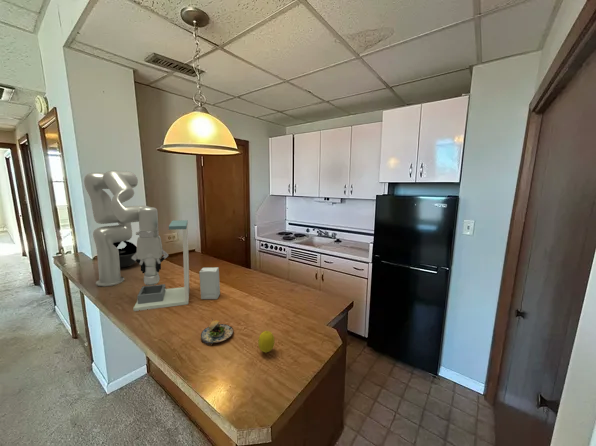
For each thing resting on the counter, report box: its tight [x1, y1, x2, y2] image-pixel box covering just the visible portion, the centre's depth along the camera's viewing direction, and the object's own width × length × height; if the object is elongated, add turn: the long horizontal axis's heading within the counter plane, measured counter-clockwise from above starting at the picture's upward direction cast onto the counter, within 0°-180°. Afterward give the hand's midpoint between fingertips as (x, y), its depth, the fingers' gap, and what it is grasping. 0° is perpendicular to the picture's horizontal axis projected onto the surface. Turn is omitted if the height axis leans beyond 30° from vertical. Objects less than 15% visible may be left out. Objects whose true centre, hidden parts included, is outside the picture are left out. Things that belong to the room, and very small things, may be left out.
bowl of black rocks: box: [113, 240, 137, 268], centre depth 163 cm, size 20×20×19 cm
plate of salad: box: [200, 318, 234, 347], centre depth 94 cm, size 12×12×8 cm
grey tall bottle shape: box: [143, 253, 160, 286], centre depth 117 cm, size 6×7×20 cm
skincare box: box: [198, 267, 221, 300], centre depth 125 cm, size 8×6×15 cm
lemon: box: [257, 330, 275, 354], centre depth 85 cm, size 6×6×8 cm
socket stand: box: [132, 219, 190, 312], centre depth 119 cm, size 18×22×38 cm
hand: (151, 271), depth 118 cm, fingers closed on grey tall bottle shape, 5 cm apart
